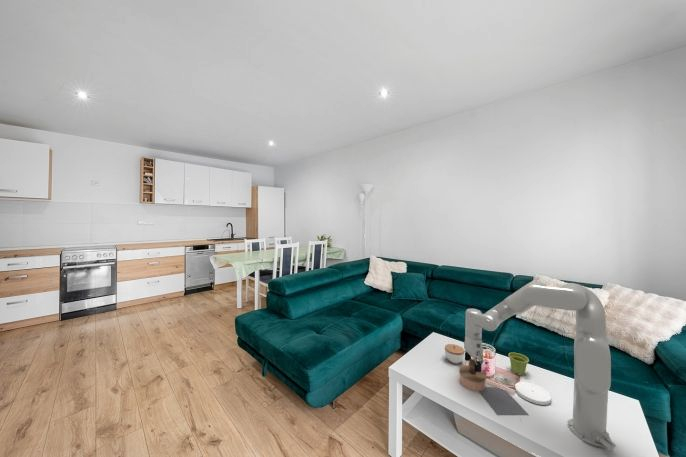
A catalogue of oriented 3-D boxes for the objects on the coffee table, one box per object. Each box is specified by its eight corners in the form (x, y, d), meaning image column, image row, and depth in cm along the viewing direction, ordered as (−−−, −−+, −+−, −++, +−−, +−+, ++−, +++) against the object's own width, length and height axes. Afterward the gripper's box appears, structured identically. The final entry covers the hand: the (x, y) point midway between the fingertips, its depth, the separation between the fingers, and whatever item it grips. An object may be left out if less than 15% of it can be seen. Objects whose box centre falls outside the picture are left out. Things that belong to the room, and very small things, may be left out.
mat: (529, 416, 108) (529, 415, 108) (497, 415, 108) (497, 415, 108) (502, 387, 126) (502, 387, 126) (475, 387, 126) (475, 387, 126)
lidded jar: (440, 358, 153) (441, 343, 152) (453, 354, 157) (453, 339, 157) (455, 367, 143) (455, 352, 143) (468, 363, 148) (468, 348, 147)
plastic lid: (513, 383, 130) (513, 378, 130) (547, 392, 123) (547, 387, 123) (516, 400, 118) (516, 395, 118) (554, 411, 111) (554, 405, 111)
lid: (491, 382, 123) (491, 368, 122) (466, 382, 123) (466, 368, 122) (477, 367, 135) (478, 354, 135) (455, 367, 135) (455, 354, 135)
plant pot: (532, 377, 134) (533, 362, 134) (515, 377, 135) (515, 361, 134) (520, 367, 144) (521, 352, 143) (504, 366, 144) (504, 352, 144)
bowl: (489, 391, 123) (489, 381, 123) (466, 391, 123) (466, 381, 123) (477, 376, 135) (477, 367, 135) (456, 376, 135) (456, 367, 135)
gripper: (490, 341, 119) (489, 376, 120) (471, 326, 137) (471, 356, 137) (474, 341, 119) (474, 376, 120) (458, 326, 137) (457, 356, 137)
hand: (472, 365), depth 129 cm, fingers open, 9 cm apart
